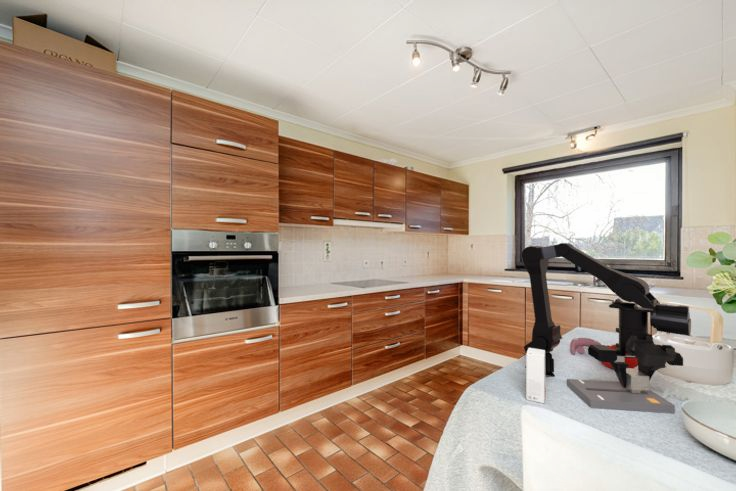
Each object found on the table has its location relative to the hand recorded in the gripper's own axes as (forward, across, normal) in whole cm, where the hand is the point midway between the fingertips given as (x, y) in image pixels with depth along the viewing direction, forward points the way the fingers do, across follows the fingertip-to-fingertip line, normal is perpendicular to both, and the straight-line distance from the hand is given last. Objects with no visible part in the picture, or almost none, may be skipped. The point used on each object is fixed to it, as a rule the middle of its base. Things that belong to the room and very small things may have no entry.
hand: (633, 387), depth 79 cm
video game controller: (+3, +5, +34) cm, 34 cm away
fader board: (+3, -4, 0) cm, 5 cm away
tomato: (+3, +10, +23) cm, 25 cm away
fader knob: (+1, 0, 0) cm, 1 cm away
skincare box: (+3, -24, -2) cm, 24 cm away
